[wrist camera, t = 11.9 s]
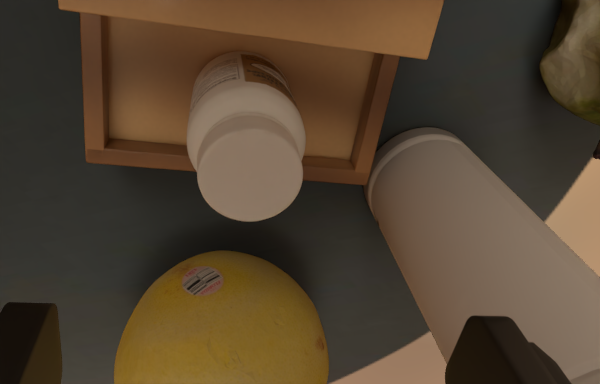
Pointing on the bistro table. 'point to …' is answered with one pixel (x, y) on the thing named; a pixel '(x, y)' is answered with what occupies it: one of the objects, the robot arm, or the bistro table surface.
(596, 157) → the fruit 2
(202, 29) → the stand
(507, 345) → the robot arm
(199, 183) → the pill bottle
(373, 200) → the travel mug
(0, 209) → the bistro table surface
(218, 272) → the fruit
